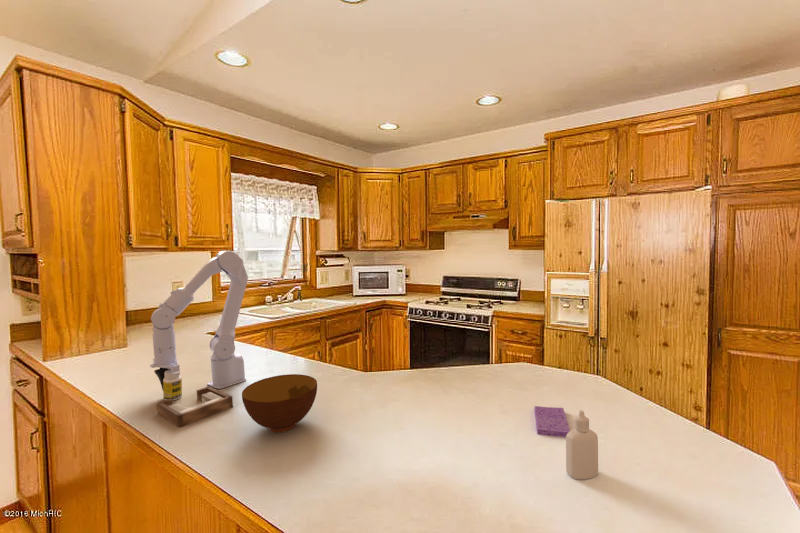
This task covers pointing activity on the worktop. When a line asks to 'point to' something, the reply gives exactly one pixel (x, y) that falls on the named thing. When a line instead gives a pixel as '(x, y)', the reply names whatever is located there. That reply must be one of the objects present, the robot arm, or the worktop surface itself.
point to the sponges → (551, 421)
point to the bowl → (280, 400)
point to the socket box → (195, 407)
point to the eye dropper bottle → (581, 449)
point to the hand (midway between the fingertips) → (167, 391)
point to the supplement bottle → (172, 385)
